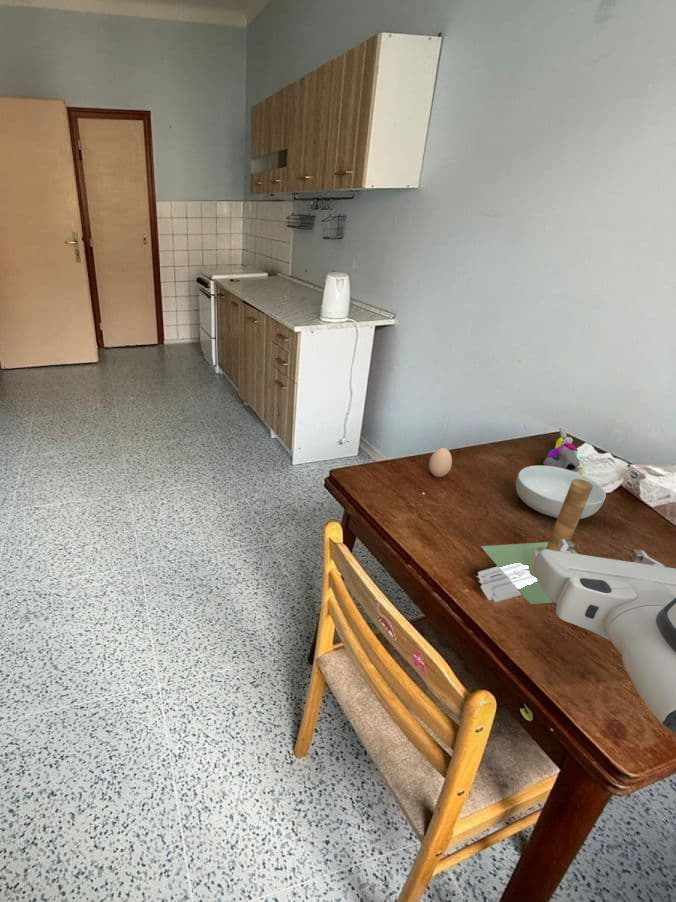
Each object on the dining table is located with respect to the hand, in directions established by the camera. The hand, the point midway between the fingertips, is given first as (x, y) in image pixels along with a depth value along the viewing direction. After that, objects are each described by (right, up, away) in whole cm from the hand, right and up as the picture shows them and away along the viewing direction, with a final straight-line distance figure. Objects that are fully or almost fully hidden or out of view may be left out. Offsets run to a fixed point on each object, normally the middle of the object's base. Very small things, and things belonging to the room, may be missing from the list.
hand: (599, 547), depth 73 cm
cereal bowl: (+18, +2, +37) cm, 41 cm away
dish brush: (+4, -8, +17) cm, 19 cm away
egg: (-2, +9, +51) cm, 51 cm away
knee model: (+34, +12, +56) cm, 67 cm away
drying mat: (+4, -8, +18) cm, 20 cm away
